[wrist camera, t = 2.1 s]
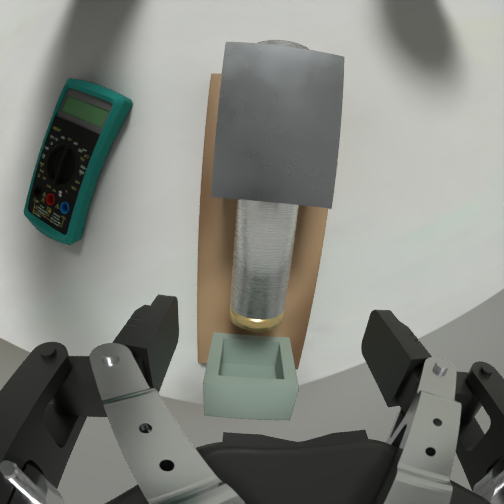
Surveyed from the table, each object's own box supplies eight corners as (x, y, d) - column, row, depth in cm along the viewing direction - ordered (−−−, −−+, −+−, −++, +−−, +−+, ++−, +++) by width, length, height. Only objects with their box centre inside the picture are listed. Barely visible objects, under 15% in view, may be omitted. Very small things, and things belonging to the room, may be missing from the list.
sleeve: (223, 186, 21) (210, 197, 15) (233, 74, 19) (225, 41, 12) (308, 194, 22) (331, 208, 15) (318, 83, 19) (344, 56, 12)
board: (200, 353, 28) (197, 362, 27) (213, 78, 20) (211, 73, 19) (295, 360, 28) (297, 369, 27) (334, 91, 20) (339, 87, 19)
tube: (231, 302, 23) (227, 329, 19) (251, 58, 17) (251, 37, 13) (280, 305, 23) (285, 333, 19) (306, 65, 17) (317, 45, 13)
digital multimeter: (34, 214, 24) (17, 220, 21) (81, 80, 20) (65, 74, 17) (82, 244, 25) (66, 253, 22) (138, 100, 21) (124, 94, 18)
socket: (212, 364, 27) (204, 415, 20) (213, 332, 25) (203, 382, 19) (283, 369, 27) (289, 420, 20) (289, 337, 26) (299, 388, 19)
